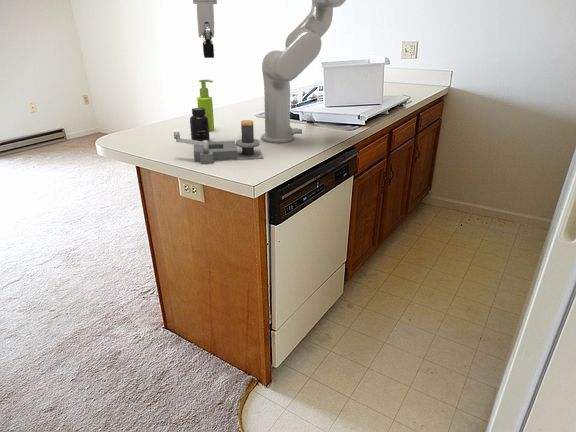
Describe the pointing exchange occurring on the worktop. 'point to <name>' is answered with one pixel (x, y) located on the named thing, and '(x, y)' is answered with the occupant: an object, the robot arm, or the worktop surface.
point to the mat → (256, 156)
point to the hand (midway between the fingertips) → (208, 56)
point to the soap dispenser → (206, 103)
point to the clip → (192, 142)
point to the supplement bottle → (199, 125)
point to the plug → (247, 138)
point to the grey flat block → (216, 152)
